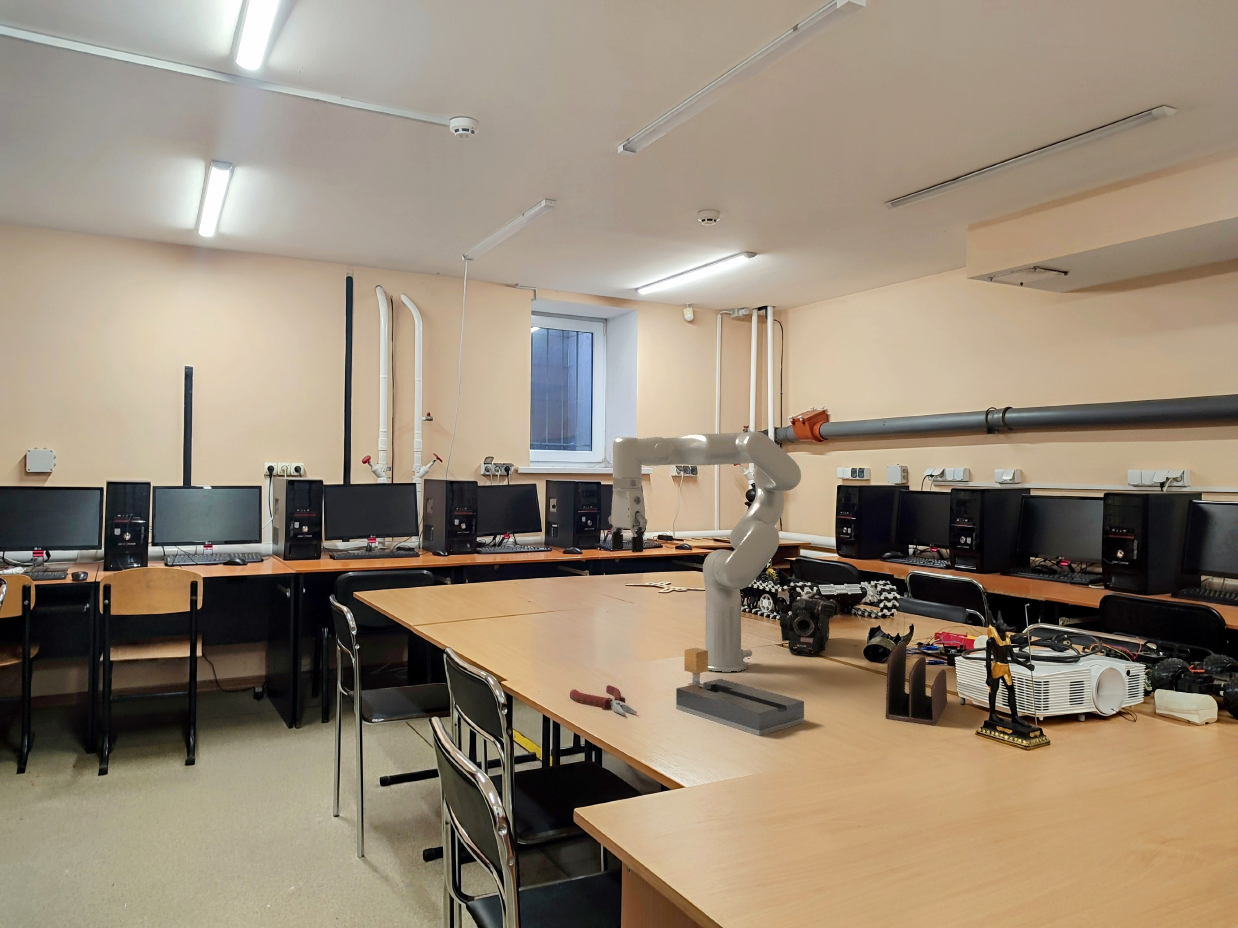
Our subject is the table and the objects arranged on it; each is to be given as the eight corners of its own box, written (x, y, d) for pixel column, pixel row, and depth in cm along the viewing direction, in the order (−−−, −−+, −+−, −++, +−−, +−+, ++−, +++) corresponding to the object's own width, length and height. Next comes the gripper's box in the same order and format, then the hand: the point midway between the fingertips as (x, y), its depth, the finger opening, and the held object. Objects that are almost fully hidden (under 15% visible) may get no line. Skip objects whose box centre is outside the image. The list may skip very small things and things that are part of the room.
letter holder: (885, 719, 173) (885, 653, 173) (902, 697, 190) (902, 637, 190) (935, 726, 168) (935, 658, 168) (947, 703, 185) (947, 641, 185)
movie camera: (837, 659, 226) (834, 595, 227) (774, 655, 234) (772, 594, 235) (858, 643, 253) (855, 587, 255) (801, 641, 261) (799, 586, 263)
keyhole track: (720, 698, 188) (720, 678, 188) (804, 722, 169) (804, 700, 170) (676, 708, 179) (676, 688, 179) (759, 735, 161) (759, 712, 161)
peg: (696, 686, 198) (696, 647, 199) (707, 689, 195) (708, 650, 196) (684, 689, 196) (684, 649, 196) (696, 692, 193) (696, 652, 193)
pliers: (606, 722, 170) (607, 710, 170) (567, 699, 188) (567, 688, 188) (654, 716, 176) (654, 704, 176) (611, 694, 193) (611, 683, 193)
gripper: (657, 485, 206) (657, 552, 205) (622, 484, 220) (622, 547, 220) (632, 485, 202) (632, 554, 202) (598, 484, 217) (598, 548, 216)
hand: (627, 550), depth 211 cm, fingers open, 9 cm apart
